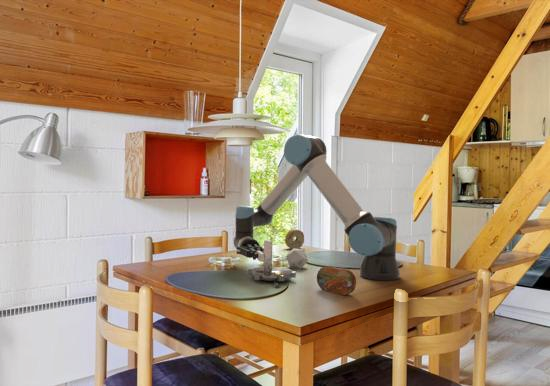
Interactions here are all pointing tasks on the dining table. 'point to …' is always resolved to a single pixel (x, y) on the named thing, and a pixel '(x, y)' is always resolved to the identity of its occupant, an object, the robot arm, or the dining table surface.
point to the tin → (336, 280)
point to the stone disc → (297, 242)
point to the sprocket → (270, 268)
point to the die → (297, 258)
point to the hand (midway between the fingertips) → (262, 257)
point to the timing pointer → (276, 284)
